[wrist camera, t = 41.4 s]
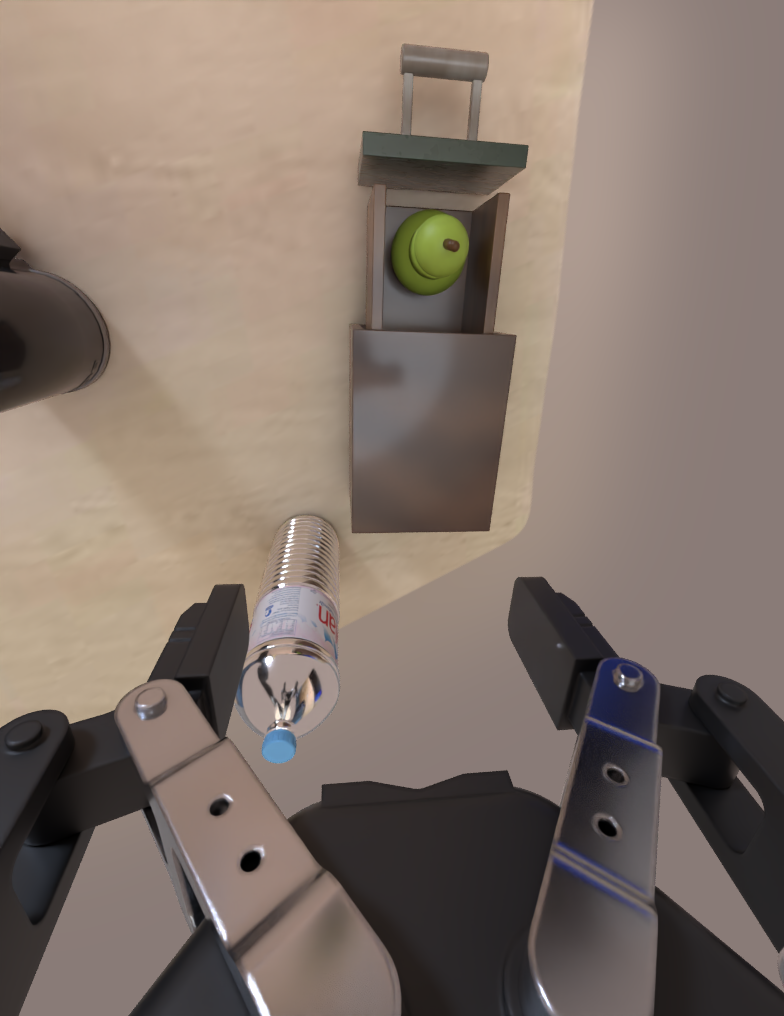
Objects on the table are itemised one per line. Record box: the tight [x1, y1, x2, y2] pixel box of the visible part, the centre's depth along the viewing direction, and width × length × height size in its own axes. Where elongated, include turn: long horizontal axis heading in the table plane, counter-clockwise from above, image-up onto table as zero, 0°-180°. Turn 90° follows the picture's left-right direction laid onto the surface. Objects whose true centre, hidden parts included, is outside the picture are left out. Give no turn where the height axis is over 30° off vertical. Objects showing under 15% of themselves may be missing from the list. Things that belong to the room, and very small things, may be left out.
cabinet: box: [349, 324, 516, 533], centre depth 39 cm, size 16×12×10 cm
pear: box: [391, 209, 469, 296], centre depth 32 cm, size 6×6×11 cm
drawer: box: [358, 44, 528, 334], centre depth 34 cm, size 20×10×8 cm, turn 178°
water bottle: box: [234, 515, 340, 763], centre depth 37 cm, size 7×7×25 cm
